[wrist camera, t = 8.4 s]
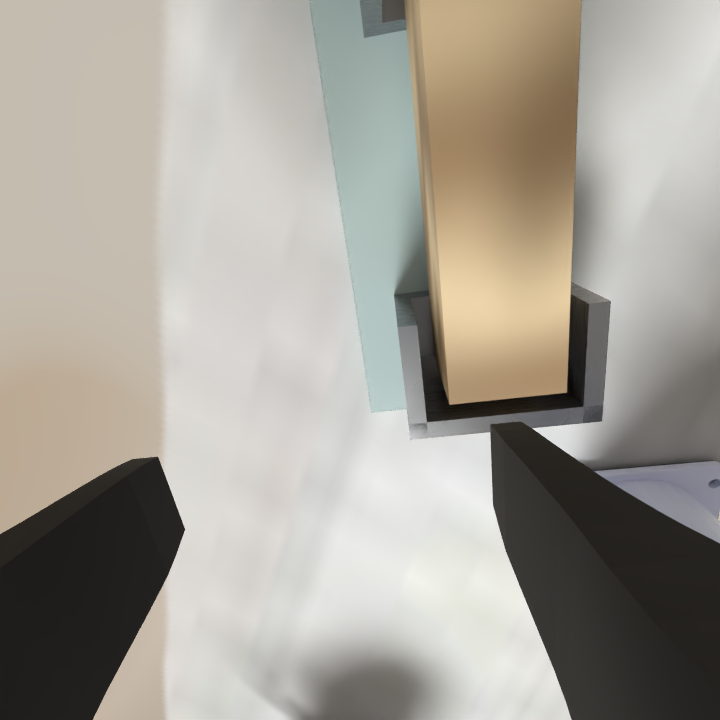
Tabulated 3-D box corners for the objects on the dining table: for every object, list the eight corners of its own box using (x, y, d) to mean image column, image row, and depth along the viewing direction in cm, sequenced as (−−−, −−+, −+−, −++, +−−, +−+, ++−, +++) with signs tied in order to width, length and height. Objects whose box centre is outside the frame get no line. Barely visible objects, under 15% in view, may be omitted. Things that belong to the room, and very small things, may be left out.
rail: (525, 347, 16) (566, 392, 13) (434, 357, 17) (449, 404, 13) (524, -137, 11) (592, -294, 8) (395, -108, 12) (400, -246, 8)
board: (560, 386, 19) (565, 392, 18) (371, 406, 20) (371, 412, 19) (578, -222, 12) (588, -243, 11) (288, -153, 13) (283, -168, 12)
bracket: (551, 368, 18) (602, 421, 14) (404, 384, 18) (410, 439, 14) (553, 273, 16) (610, 301, 12) (393, 294, 17) (397, 327, 13)
